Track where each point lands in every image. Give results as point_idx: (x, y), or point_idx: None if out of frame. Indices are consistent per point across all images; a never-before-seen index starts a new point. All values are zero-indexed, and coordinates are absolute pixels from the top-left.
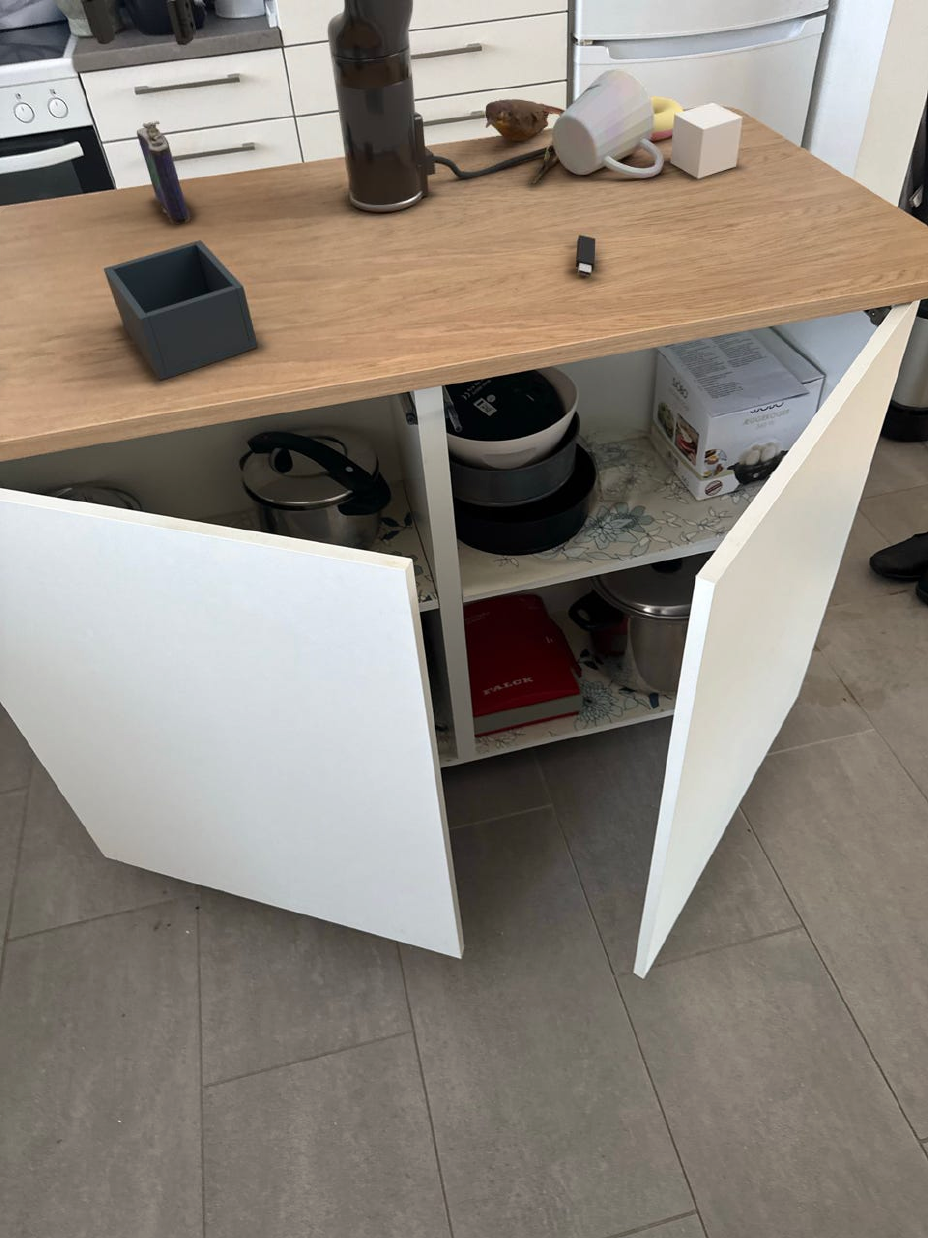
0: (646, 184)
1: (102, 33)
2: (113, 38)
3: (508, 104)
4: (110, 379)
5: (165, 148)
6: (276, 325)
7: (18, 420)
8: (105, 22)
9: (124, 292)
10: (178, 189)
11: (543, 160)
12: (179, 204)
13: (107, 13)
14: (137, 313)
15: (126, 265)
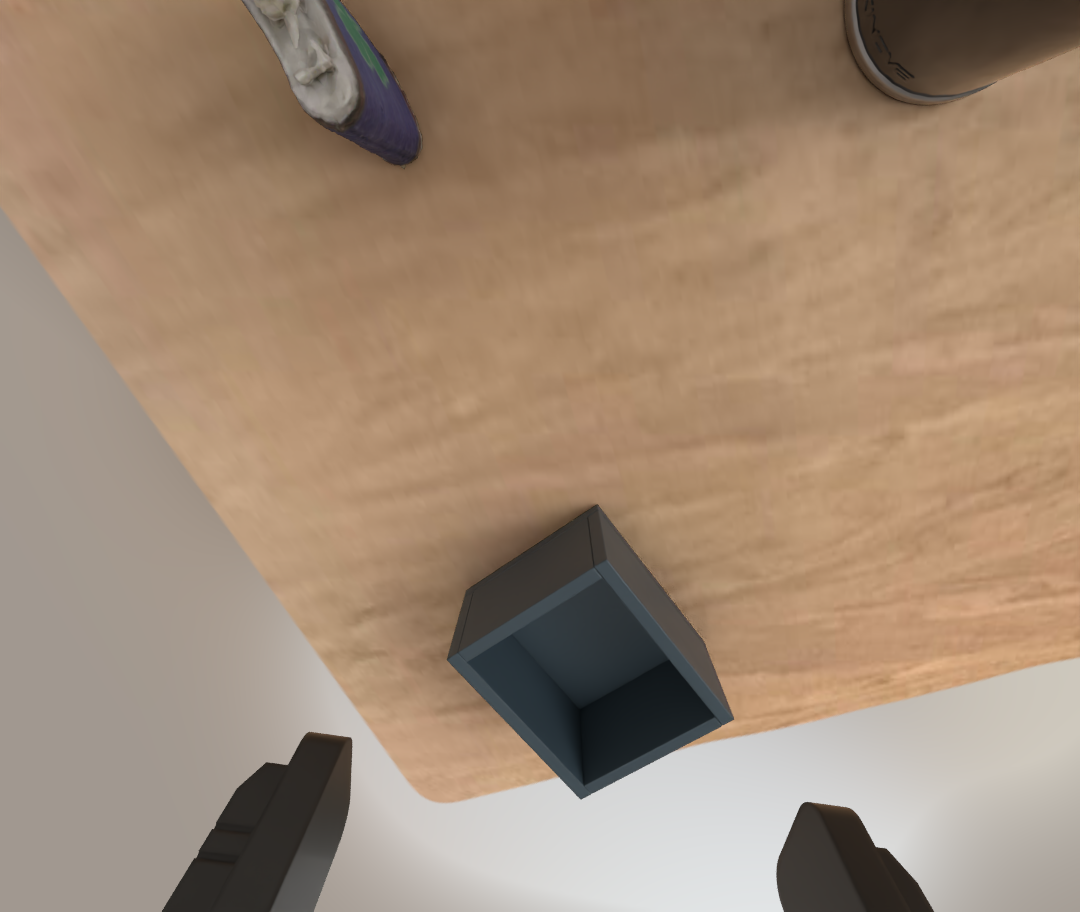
0: None
1: (329, 865)
2: (349, 746)
3: None
4: None
5: (355, 100)
6: (723, 583)
7: (418, 781)
8: (312, 862)
9: (523, 732)
10: (398, 130)
11: None
12: (405, 152)
13: (294, 865)
14: (571, 787)
15: (486, 648)
